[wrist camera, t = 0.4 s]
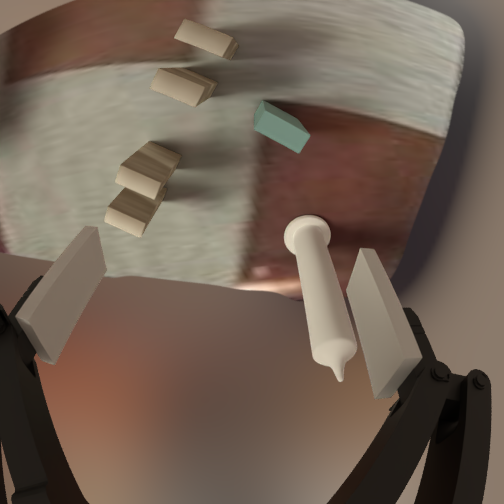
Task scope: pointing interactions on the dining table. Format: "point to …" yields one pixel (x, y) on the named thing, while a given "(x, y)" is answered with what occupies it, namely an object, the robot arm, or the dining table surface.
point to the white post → (321, 293)
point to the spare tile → (280, 126)
